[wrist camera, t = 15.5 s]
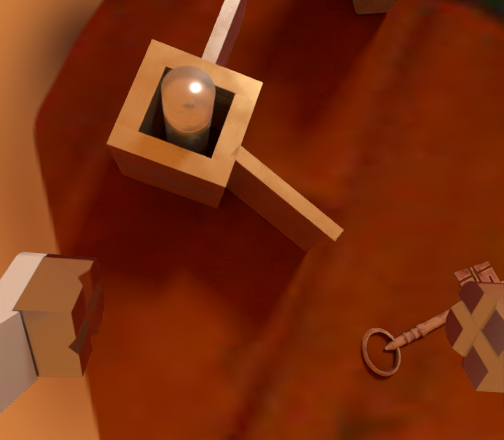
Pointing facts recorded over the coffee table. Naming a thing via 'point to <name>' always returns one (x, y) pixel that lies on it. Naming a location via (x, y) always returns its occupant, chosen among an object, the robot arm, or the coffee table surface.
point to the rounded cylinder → (188, 107)
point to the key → (426, 326)
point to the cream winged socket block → (228, 146)
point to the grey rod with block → (372, 6)
